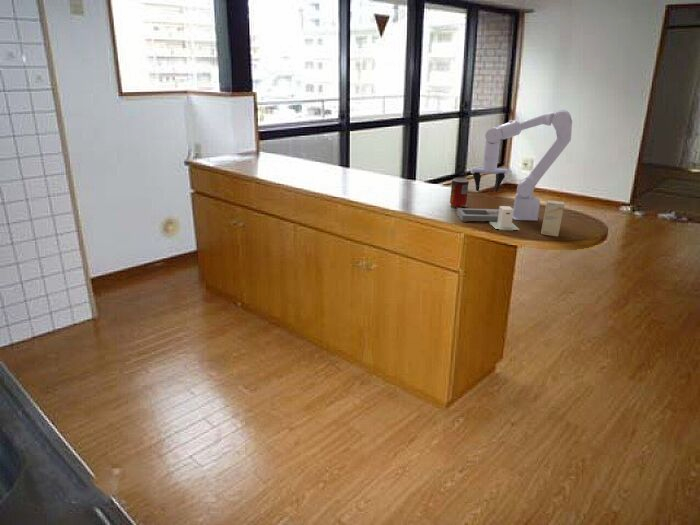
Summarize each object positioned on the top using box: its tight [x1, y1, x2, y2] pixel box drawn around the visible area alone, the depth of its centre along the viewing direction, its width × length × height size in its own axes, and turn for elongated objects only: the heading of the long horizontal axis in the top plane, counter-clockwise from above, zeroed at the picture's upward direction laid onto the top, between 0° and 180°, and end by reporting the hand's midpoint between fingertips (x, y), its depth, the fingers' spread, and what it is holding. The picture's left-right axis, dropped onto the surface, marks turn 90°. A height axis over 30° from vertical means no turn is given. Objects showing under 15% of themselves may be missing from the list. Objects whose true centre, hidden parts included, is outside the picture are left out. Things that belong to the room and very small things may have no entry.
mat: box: [488, 222, 520, 232], centre depth 196 cm, size 9×9×1 cm
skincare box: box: [540, 199, 566, 237], centre depth 187 cm, size 6×4×12 cm
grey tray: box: [456, 207, 499, 222], centre depth 206 cm, size 19×11×3 cm, turn 90°
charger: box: [497, 205, 514, 228], centre depth 195 cm, size 4×5×7 cm
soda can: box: [449, 177, 470, 209], centre depth 222 cm, size 7×7×12 cm
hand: (486, 191), depth 211 cm, fingers open, 7 cm apart
